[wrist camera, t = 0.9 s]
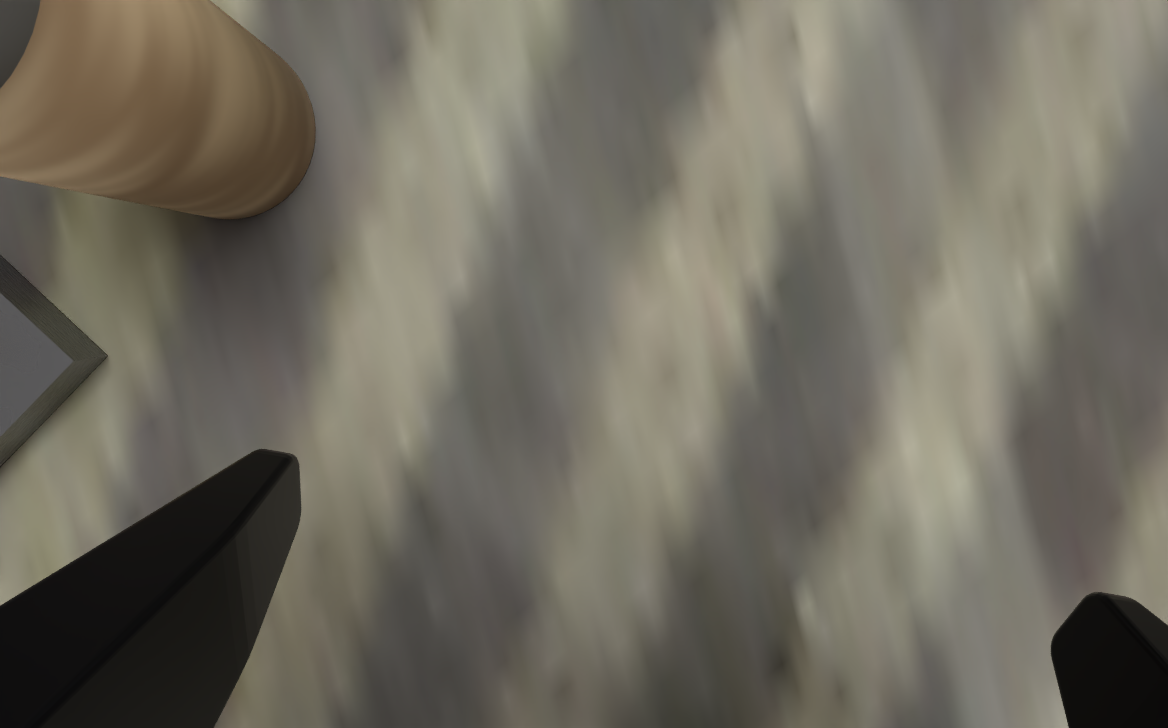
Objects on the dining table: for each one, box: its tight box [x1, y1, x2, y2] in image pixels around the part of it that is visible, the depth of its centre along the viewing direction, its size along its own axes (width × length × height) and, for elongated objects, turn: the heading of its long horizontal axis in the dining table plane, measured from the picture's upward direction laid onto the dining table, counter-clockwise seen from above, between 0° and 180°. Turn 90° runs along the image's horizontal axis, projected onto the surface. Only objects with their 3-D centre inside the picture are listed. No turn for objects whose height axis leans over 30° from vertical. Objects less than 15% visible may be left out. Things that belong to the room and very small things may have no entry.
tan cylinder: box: [0, 0, 315, 219], centre depth 15 cm, size 5×5×12 cm
